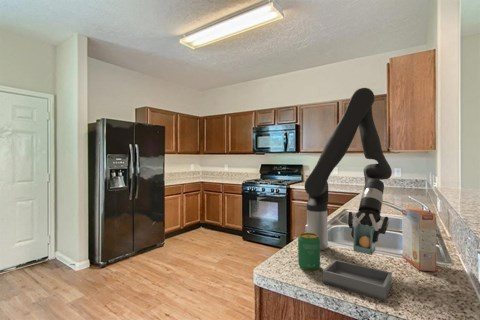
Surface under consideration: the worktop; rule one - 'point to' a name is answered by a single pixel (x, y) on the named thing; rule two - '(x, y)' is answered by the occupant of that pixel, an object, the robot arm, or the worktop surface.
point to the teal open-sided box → (360, 232)
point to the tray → (358, 279)
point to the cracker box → (419, 238)
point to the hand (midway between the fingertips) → (363, 239)
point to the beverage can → (309, 251)
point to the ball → (365, 242)
